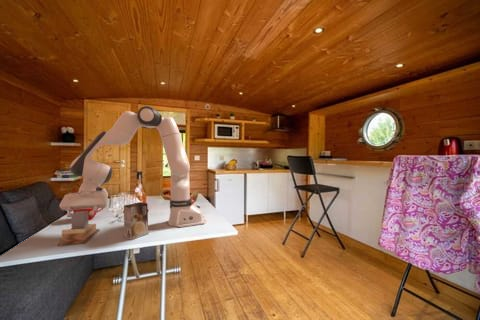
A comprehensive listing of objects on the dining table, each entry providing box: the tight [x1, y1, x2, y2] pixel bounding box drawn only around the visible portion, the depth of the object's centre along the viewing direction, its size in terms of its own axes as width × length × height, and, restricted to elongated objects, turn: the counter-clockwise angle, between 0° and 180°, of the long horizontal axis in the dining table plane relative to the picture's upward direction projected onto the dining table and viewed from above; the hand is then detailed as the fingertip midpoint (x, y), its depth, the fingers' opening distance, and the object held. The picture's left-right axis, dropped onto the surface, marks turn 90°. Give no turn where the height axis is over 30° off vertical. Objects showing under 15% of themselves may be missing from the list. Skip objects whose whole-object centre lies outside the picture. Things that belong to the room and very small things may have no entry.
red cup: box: [72, 208, 104, 221], centre depth 133 cm, size 13×17×10 cm
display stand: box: [57, 223, 100, 247], centre depth 103 cm, size 11×16×6 cm
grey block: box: [70, 211, 90, 229], centre depth 102 cm, size 5×5×8 cm
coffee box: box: [123, 201, 149, 241], centre depth 105 cm, size 9×6×16 cm
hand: (80, 215), depth 102 cm, fingers open, 8 cm apart
